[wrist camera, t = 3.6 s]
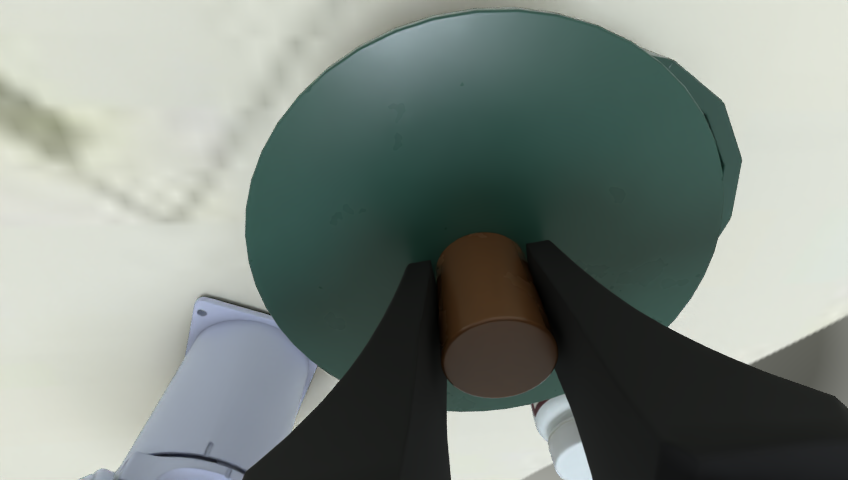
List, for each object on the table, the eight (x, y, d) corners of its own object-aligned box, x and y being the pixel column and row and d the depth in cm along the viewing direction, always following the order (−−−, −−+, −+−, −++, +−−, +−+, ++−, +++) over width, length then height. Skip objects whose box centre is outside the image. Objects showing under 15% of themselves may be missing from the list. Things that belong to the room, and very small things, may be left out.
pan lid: (677, 358, 16) (757, 480, 12) (340, 409, 17) (318, 532, 14) (740, -64, 9) (975, -86, 5) (167, 78, 10) (23, 143, 7)
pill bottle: (591, 352, 28) (649, 482, 21) (519, 365, 29) (552, 496, 22) (588, 299, 26) (652, 426, 18) (509, 314, 26) (542, 443, 19)
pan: (655, 243, 23) (714, 311, 19) (438, 283, 25) (443, 356, 20) (676, -7, 17) (772, 4, 12) (380, 66, 18) (367, 100, 14)
